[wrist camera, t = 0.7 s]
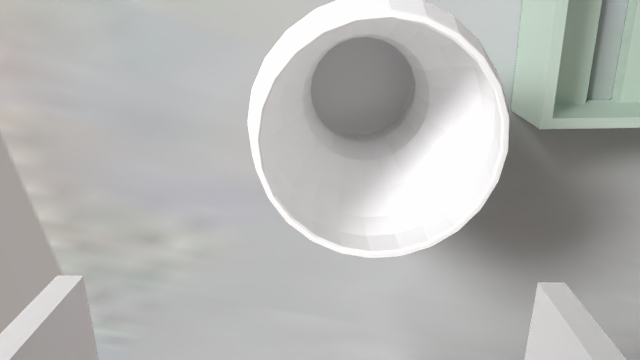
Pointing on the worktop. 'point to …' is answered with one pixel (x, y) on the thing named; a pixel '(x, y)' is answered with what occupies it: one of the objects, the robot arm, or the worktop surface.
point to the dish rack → (573, 67)
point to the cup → (378, 126)
